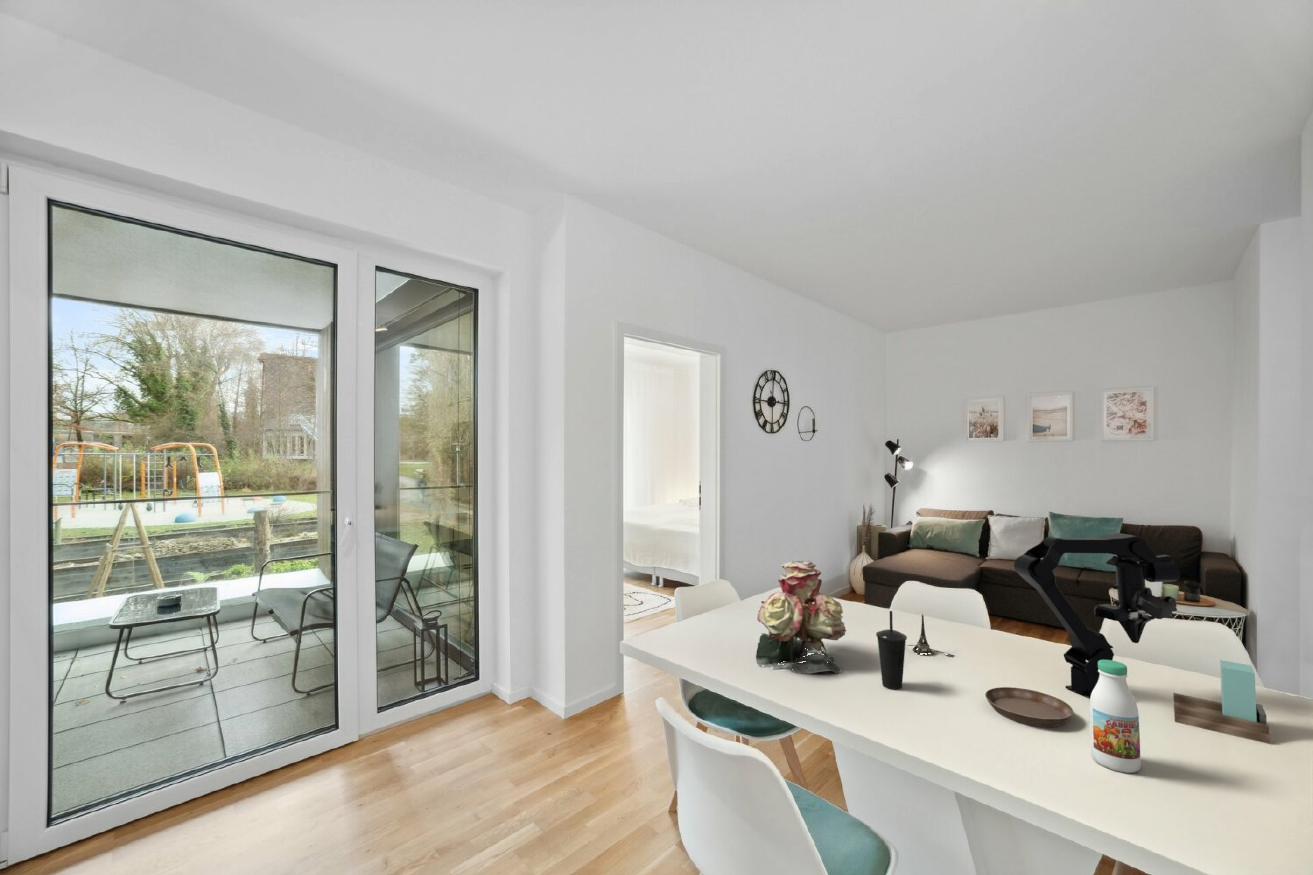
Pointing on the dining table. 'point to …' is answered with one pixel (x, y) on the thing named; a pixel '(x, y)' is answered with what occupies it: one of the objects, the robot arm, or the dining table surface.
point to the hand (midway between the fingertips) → (1135, 642)
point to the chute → (1219, 718)
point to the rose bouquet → (799, 622)
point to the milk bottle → (1114, 720)
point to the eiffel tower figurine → (925, 644)
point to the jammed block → (1238, 690)
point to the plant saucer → (1029, 706)
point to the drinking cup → (891, 656)
